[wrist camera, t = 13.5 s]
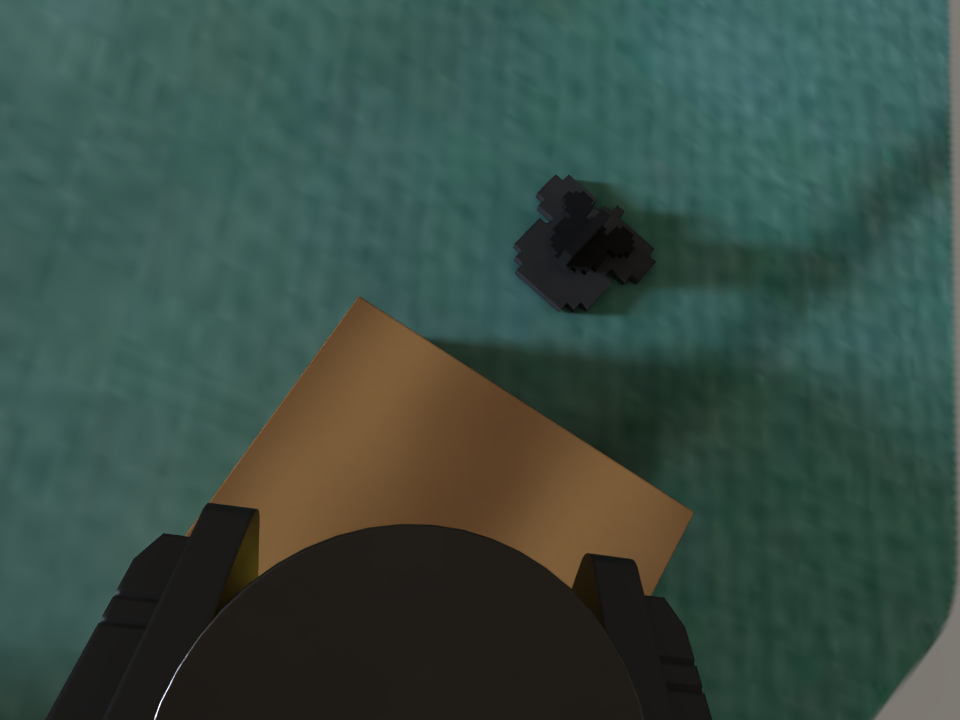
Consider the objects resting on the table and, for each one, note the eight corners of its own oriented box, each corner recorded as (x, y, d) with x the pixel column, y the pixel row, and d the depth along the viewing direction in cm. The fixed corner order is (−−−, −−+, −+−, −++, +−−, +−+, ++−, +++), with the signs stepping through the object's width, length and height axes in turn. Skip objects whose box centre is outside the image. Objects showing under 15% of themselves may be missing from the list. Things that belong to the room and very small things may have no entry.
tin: (214, 666, 14) (8, 828, 7) (393, 477, 16) (397, 424, 8) (399, 852, 14) (414, 1254, 6) (566, 642, 15) (752, 757, 7)
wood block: (147, 636, 26) (93, 660, 22) (363, 332, 30) (358, 295, 25) (466, 846, 26) (484, 918, 21) (645, 514, 30) (695, 512, 25)
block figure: (493, 225, 29) (578, 139, 31) (485, 247, 32) (565, 166, 33) (603, 322, 29) (684, 231, 30) (588, 338, 31) (664, 252, 33)
